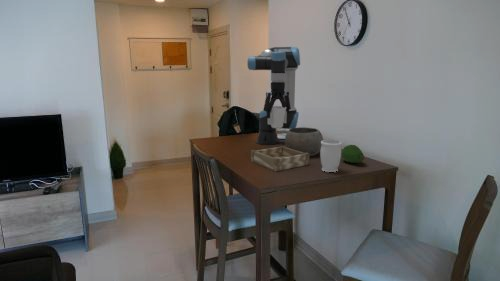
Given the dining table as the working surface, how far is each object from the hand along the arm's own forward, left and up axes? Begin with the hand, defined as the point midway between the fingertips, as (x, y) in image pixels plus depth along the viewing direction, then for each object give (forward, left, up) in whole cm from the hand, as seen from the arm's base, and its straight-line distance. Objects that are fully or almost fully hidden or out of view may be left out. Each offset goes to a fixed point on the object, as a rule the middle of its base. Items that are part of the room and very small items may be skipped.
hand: (277, 123), depth 187 cm
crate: (-1, +2, -22) cm, 22 cm away
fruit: (-35, +24, -22) cm, 48 cm away
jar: (-14, +27, -22) cm, 37 cm away
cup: (0, 0, -2) cm, 2 cm away
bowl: (-27, -7, -22) cm, 36 cm away
